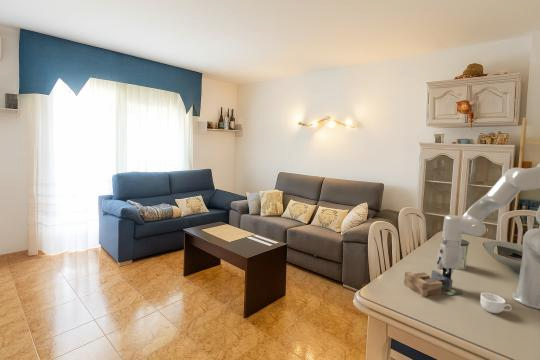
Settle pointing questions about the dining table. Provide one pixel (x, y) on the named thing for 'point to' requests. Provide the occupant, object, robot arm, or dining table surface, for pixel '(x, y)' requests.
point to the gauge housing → (425, 284)
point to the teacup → (493, 303)
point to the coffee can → (464, 253)
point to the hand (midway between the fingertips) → (446, 280)
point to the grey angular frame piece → (442, 280)
